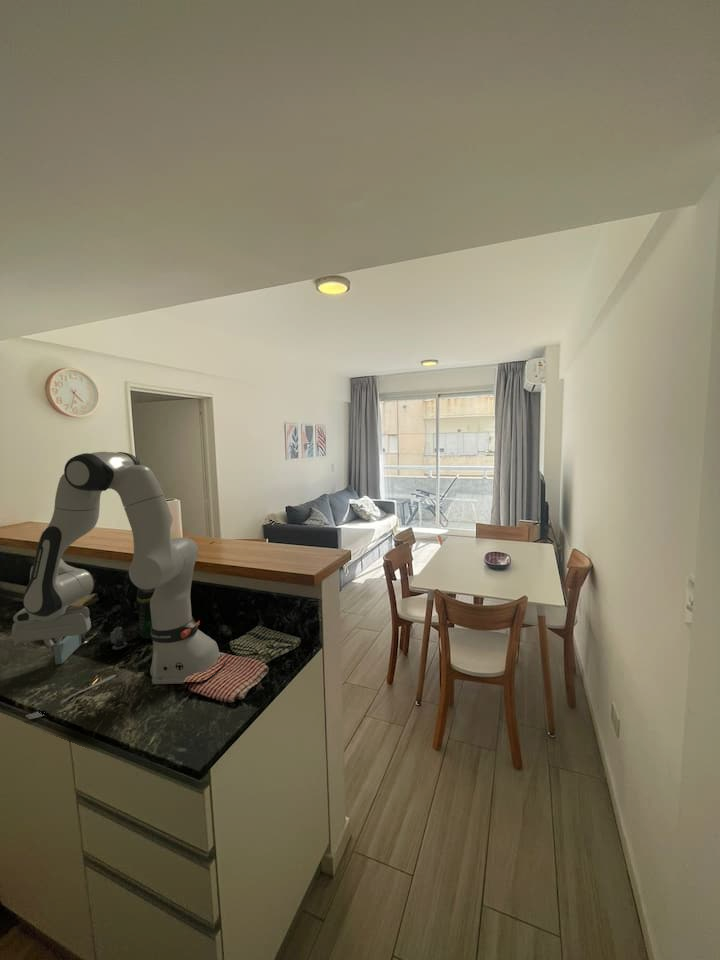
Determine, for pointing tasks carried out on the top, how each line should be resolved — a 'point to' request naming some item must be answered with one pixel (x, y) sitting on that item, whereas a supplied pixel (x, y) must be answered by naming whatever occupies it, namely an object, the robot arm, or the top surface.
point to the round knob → (83, 639)
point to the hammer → (118, 639)
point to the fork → (72, 696)
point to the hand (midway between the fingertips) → (54, 649)
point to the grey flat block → (66, 648)
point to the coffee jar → (145, 611)
